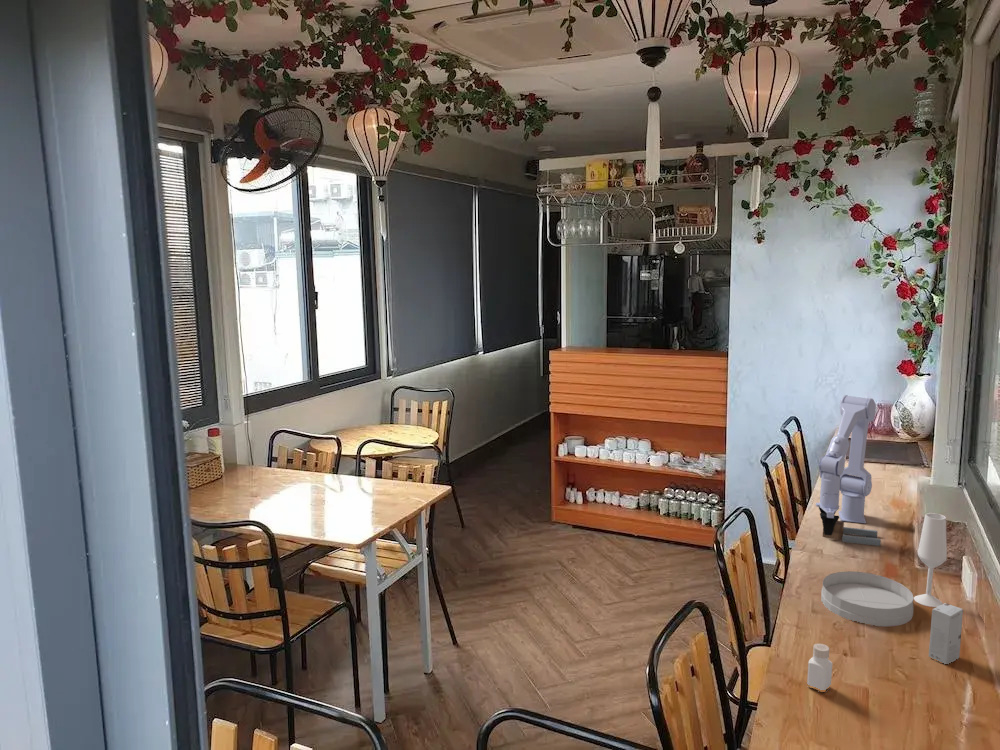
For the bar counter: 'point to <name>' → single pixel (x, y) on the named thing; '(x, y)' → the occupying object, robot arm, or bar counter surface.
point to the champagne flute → (932, 552)
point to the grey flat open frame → (868, 539)
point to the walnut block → (836, 531)
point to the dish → (867, 598)
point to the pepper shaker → (820, 668)
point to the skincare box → (945, 633)
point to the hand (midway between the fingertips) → (827, 531)
